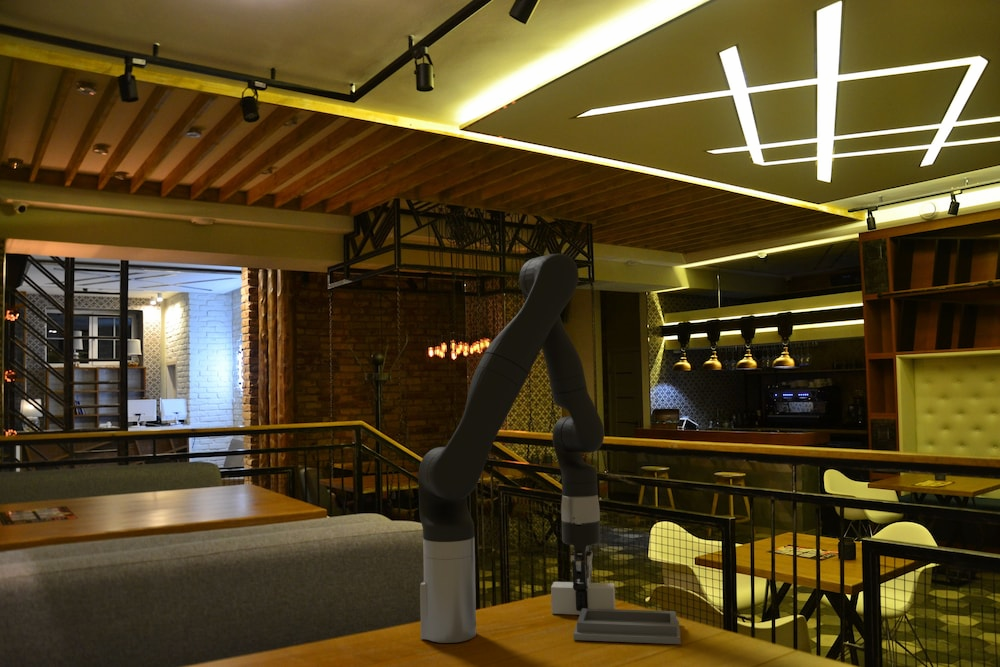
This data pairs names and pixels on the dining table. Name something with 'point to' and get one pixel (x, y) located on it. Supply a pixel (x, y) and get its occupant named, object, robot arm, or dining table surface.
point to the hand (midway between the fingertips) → (583, 606)
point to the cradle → (628, 626)
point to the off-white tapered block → (566, 597)
